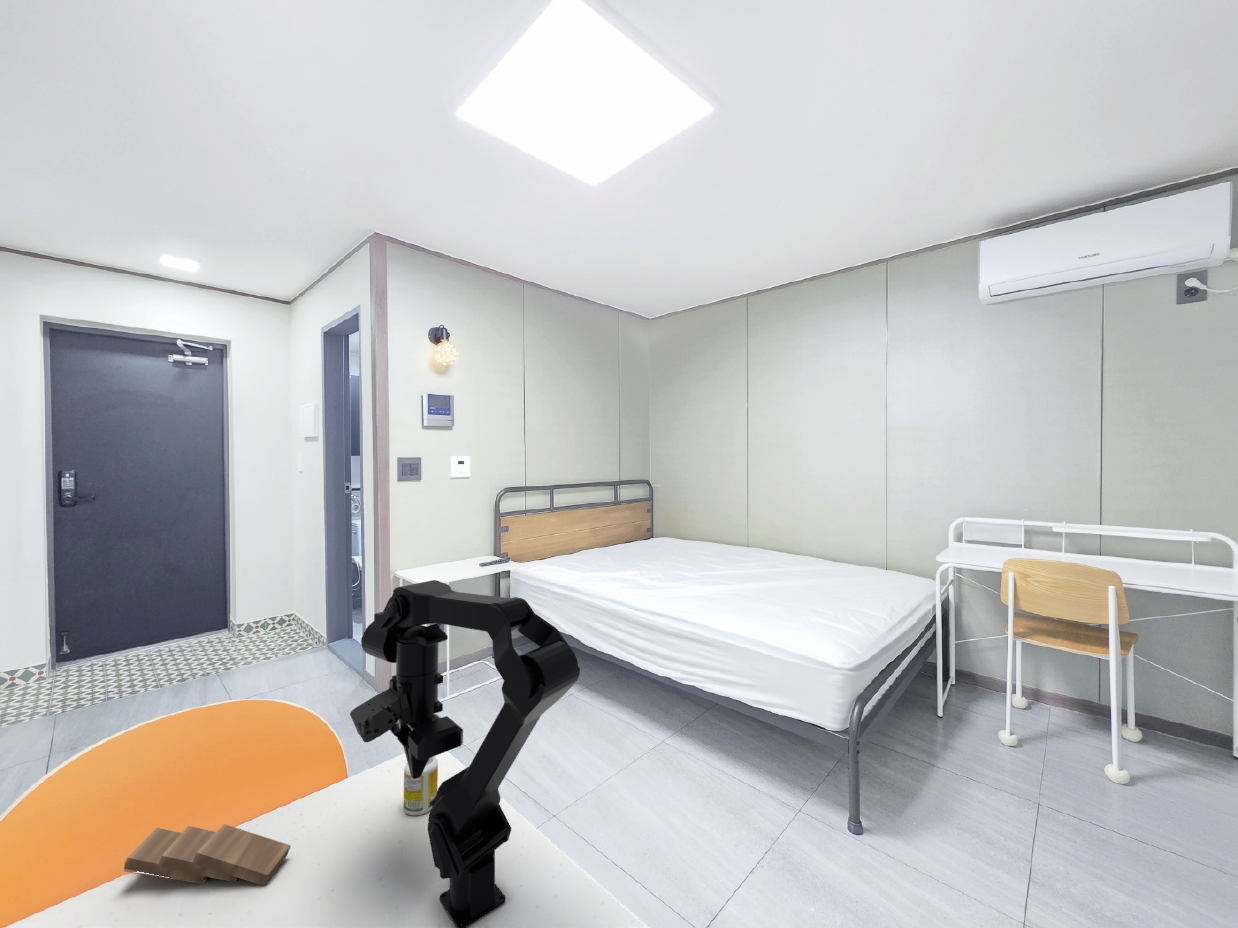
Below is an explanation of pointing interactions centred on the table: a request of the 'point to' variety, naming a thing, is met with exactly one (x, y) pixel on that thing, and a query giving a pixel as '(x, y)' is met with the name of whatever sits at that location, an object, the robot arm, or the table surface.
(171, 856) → the domino
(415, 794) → the supplement bottle
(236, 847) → the domino
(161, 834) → the domino
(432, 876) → the table surface
